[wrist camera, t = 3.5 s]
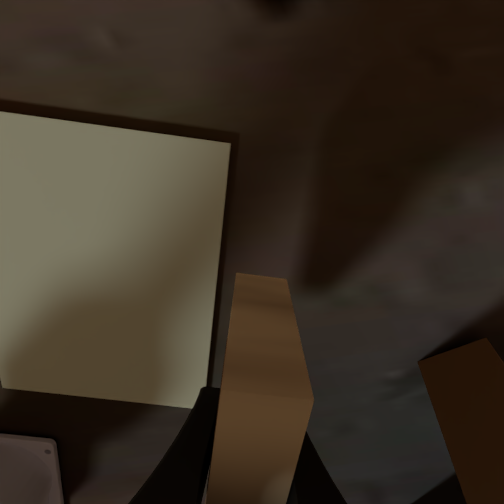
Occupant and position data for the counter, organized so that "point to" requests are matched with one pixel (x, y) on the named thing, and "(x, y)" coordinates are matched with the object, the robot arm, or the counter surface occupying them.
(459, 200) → the counter surface
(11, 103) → the counter surface
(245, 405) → the oak tile
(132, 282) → the mat
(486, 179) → the counter surface
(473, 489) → the photo frame
